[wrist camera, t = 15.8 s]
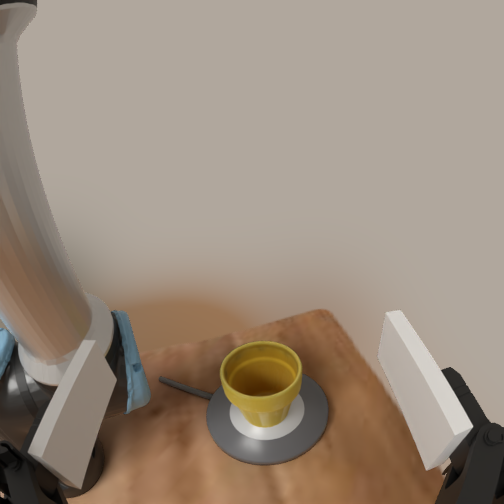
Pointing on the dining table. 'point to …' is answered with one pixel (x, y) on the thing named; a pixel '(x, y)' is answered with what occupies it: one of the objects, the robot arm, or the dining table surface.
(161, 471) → the dining table surface
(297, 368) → the plant pot
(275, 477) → the dining table surface
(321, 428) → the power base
